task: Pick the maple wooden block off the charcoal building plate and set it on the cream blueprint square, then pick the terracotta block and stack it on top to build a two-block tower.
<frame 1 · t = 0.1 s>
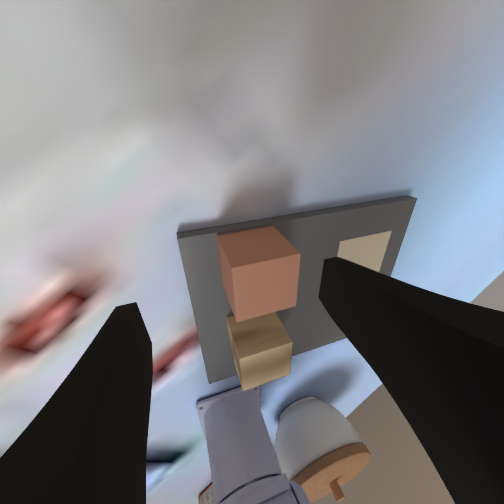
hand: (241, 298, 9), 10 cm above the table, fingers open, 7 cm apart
lidded bowl: (298, 408, 39), on the table
building plate: (300, 292, 25), on the table
maple block: (250, 327, 23), point 1 cm above the table, touching building plate
terracotta block: (246, 255, 19), point 1 cm above the table, touching building plate
cracker box: (235, 481, 46), on the table
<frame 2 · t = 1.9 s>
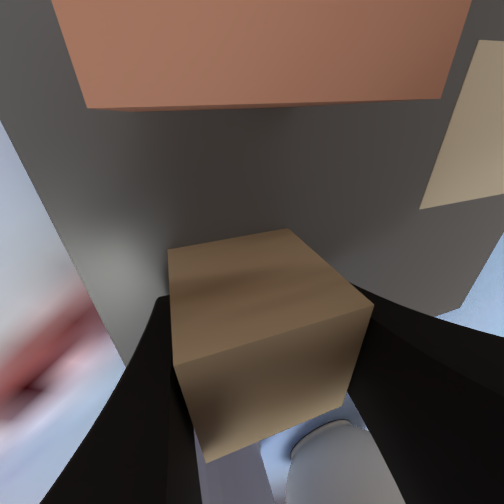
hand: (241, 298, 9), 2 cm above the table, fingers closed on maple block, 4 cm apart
lidded bowl: (319, 437, 25), on the table
building plate: (350, 211, 11), on the table
maple block: (235, 286, 10), point 1 cm above the table, touching building plate, gripper
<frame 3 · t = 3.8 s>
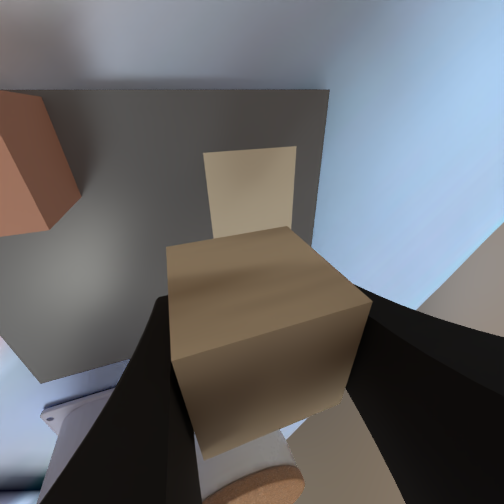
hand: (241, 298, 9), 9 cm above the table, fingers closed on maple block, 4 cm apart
lidded bowl: (226, 416, 31), on the table
building plate: (169, 245, 17), on the table
maple block: (234, 284, 10), point 8 cm above the table, touching gripper
terracotta block: (7, 155, 11), point 1 cm above the table, touching building plate
when the fingers open (3 cm above the table, at t = 5.7 s): maple block drops 1 cm, resting on building plate.
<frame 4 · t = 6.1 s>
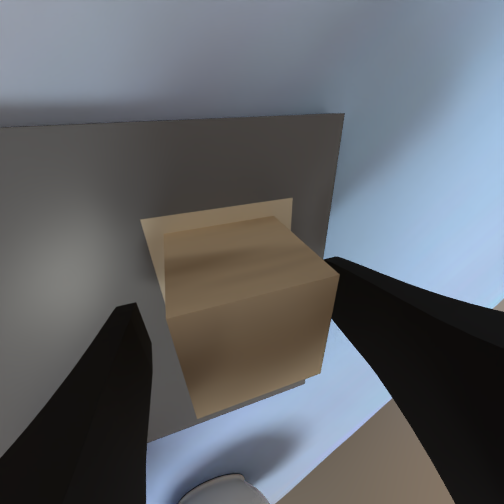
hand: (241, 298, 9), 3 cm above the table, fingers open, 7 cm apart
lidded bowl: (212, 489, 26), on the table
building plate: (109, 335, 11), on the table
maple block: (227, 270, 11), point 1 cm above the table, touching building plate
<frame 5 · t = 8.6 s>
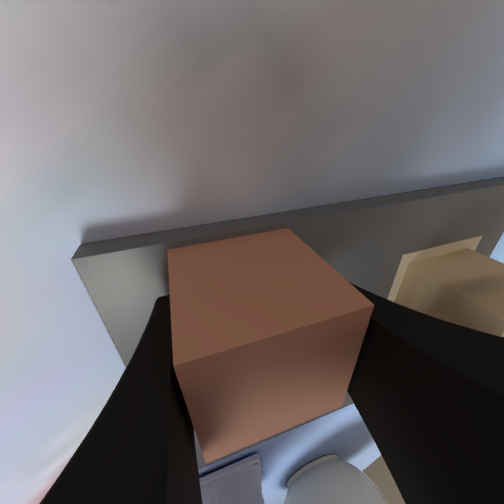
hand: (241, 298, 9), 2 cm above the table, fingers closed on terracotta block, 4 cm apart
lidded bowl: (311, 468, 29), on the table
building plate: (326, 334, 15), on the table
maple block: (425, 286, 15), point 1 cm above the table, touching building plate
terracotta block: (235, 286, 10), point 1 cm above the table, touching building plate, gripper
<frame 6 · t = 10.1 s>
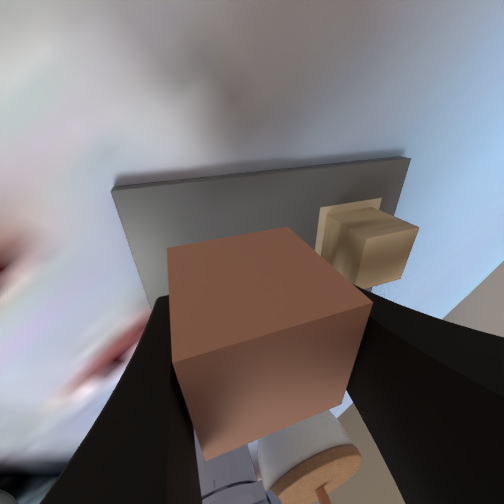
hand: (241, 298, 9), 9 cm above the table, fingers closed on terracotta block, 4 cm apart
lidded bowl: (284, 407, 36), on the table
building plate: (277, 270, 22), on the table
maple block: (345, 234, 21), point 1 cm above the table, touching building plate
terracotta block: (235, 285, 10), point 9 cm above the table, touching gripper
when the fingers open (7 cm above the table, at t = 11.8 s): terracotta block stays where it is, resting on maple block.
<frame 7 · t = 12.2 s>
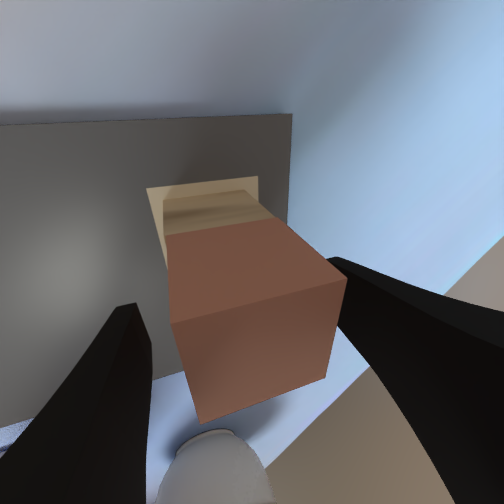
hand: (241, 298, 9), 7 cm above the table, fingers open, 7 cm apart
lidded bowl: (205, 444, 29), on the table
building plate: (121, 283, 15), on the table
maple block: (210, 231, 14), point 1 cm above the table, touching building plate, terracotta block
terracotta block: (229, 271, 10), point 6 cm above the table, touching maple block
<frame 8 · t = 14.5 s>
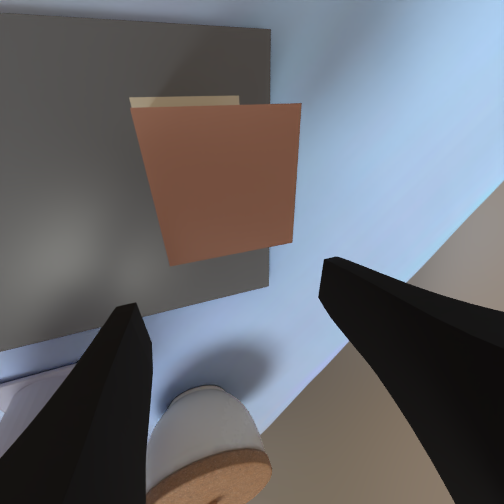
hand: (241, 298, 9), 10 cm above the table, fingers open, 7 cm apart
lidded bowl: (197, 402, 30), on the table
building plate: (108, 208, 15), on the table
terracotta block: (206, 165, 11), point 6 cm above the table, touching maple block
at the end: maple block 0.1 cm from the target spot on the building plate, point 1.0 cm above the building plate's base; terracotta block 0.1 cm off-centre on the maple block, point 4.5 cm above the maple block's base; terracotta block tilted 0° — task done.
